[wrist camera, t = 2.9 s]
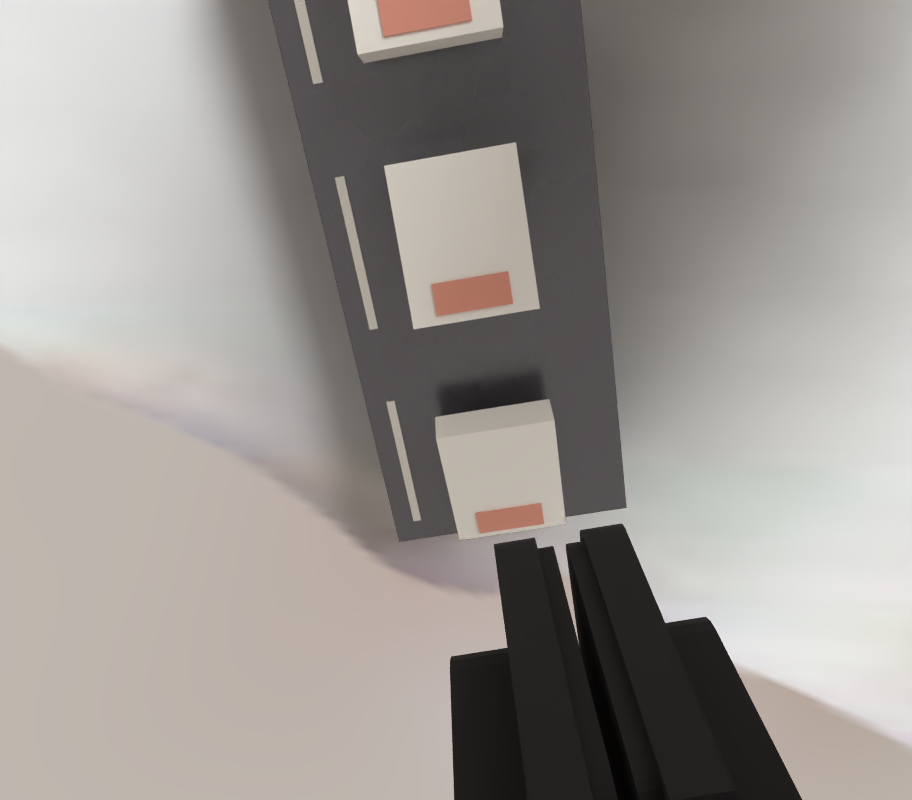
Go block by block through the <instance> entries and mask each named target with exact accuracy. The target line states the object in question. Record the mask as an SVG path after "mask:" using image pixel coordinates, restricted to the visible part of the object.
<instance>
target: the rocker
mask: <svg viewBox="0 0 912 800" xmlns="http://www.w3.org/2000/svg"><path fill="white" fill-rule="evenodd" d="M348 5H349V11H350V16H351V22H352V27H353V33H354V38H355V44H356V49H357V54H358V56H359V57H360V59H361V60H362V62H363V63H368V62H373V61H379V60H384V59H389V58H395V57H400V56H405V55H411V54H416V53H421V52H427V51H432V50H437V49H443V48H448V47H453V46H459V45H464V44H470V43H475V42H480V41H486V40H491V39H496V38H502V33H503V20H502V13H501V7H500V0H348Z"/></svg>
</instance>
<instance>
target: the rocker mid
mask: <svg viewBox="0 0 912 800" xmlns="http://www.w3.org/2000/svg"><path fill="white" fill-rule="evenodd" d="M384 169H385V175H386V180H387V186H388V191H389V197H390V202H391V208H392V213H393V219H394V224H395V230H396V235H397V241H398V246H399V252H400V257H401V263H402V268H403V274H404V279H405V285H406V290H407V296H408V301H409V307H410V312H411V318H412V323H413V329H419V328H425V327H431V326H437V325H443V324H449V323H456V322H462V321H468V320H474V319H480V318H486V317H492V316H498V315H504V314H510V313H516V312H522V311H528V310H534V309H540V305H539V298H538V291H537V284H536V278H535V271H534V264H533V257H532V250H531V243H530V236H529V229H528V222H527V215H526V208H525V202H524V195H523V188H522V181H521V174H520V167H519V160H518V153H517V146H516V142H515V143H509V144H503V145H498V146H492V147H487V148H481V149H475V150H470V151H464V152H459V153H453V154H447V155H442V156H436V157H431V158H425V159H419V160H414V161H408V162H403V163H397V164H391V165H386V166H384Z"/></svg>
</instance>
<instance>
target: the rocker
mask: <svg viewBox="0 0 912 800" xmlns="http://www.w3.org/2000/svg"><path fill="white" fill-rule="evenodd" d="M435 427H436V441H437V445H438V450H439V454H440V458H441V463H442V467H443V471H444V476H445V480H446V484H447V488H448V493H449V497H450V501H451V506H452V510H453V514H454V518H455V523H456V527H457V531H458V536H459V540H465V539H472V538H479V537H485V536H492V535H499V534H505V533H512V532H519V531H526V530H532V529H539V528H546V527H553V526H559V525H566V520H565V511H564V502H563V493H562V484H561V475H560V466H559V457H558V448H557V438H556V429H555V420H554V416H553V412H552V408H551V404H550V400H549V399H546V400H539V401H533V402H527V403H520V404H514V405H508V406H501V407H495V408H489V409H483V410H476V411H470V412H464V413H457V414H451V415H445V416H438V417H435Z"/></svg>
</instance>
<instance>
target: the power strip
mask: <svg viewBox="0 0 912 800" xmlns="http://www.w3.org/2000/svg"><path fill="white" fill-rule="evenodd" d="M269 5H270V9H271V13H272V17H273V21H274V25H275V29H276V34H277V38H278V42H279V46H280V50H281V54H282V58H283V62H284V67H285V71H286V75H287V79H288V83H289V87H290V91H291V96H292V100H293V104H294V108H295V112H296V116H297V120H298V124H299V129H300V133H301V137H302V141H303V145H304V149H305V153H306V158H307V162H308V166H309V170H310V174H311V178H312V182H313V186H314V191H315V195H316V199H317V203H318V207H319V211H320V215H321V220H322V224H323V228H324V232H325V236H326V240H327V244H328V248H329V253H330V257H331V261H332V265H333V269H334V273H335V277H336V282H337V286H338V290H339V294H340V298H341V302H342V306H343V311H344V315H345V319H346V323H347V327H348V331H349V335H350V339H351V344H352V348H353V352H354V356H355V360H356V364H357V368H358V373H359V377H360V381H361V385H362V389H363V393H364V397H365V401H366V406H367V410H368V414H369V418H370V422H371V426H372V430H373V435H374V439H375V443H376V447H377V451H378V455H379V459H380V463H381V468H382V472H383V476H384V480H385V484H386V488H387V492H388V497H389V501H390V505H391V509H392V513H393V517H394V521H395V525H396V530H397V534H398V538H399V542H400V541H407V540H413V539H420V538H427V537H434V536H440V535H447V534H454V533H458V531H457V527H456V523H455V518H454V514H453V510H452V506H451V501H450V497H449V493H448V488H447V484H446V480H445V476H444V471H443V467H442V463H441V458H440V454H439V450H438V445H437V441H436V427H435V417H438V416H445V415H451V414H457V413H464V412H470V411H476V410H483V409H489V408H495V407H501V406H508V405H514V404H520V403H527V402H533V401H539V400H546V399H549V400H550V404H551V408H552V412H553V416H554V420H555V429H556V438H557V448H558V457H559V466H560V475H561V484H562V493H563V502H564V511H565V517H568V516H574V515H581V514H588V513H594V512H601V511H608V510H614V509H621V508H626V497H625V486H624V475H623V464H622V453H621V442H620V431H619V420H618V409H617V398H616V387H615V376H614V365H613V354H612V343H611V332H610V321H609V310H608V299H607V288H606V277H605V266H604V255H603V244H602V233H601V222H600V211H599V200H598V189H597V178H596V167H595V156H594V145H593V134H592V123H591V112H590V101H589V90H588V79H587V68H586V57H585V46H584V35H583V24H582V13H581V2H580V0H500V7H501V13H502V20H503V33H502V38H496V39H491V40H486V41H480V42H475V43H470V44H464V45H459V46H453V47H448V48H443V49H437V50H432V51H427V52H421V53H416V54H411V55H405V56H400V57H395V58H389V59H384V60H379V61H373V62H368V63H363V62H362V60H361V59H360V57H359V56H358V54H357V49H356V44H355V38H354V33H353V27H352V22H351V16H350V11H349V5H348V0H269ZM515 142H516V146H517V153H518V160H519V167H520V174H521V181H522V188H523V195H524V202H525V208H526V215H527V222H528V229H529V236H530V243H531V250H532V257H533V264H534V271H535V278H536V284H537V291H538V298H539V305H540V309H534V310H528V311H522V312H516V313H510V314H504V315H498V316H492V317H486V318H480V319H474V320H468V321H462V322H456V323H449V324H443V325H437V326H431V327H425V328H419V329H413V323H412V318H411V312H410V307H409V301H408V296H407V290H406V285H405V279H404V274H403V268H402V263H401V257H400V252H399V246H398V241H397V235H396V230H395V224H394V219H393V213H392V208H391V202H390V197H389V191H388V186H387V180H386V175H385V169H384V166H386V165H391V164H397V163H403V162H408V161H414V160H419V159H425V158H431V157H436V156H442V155H447V154H453V153H459V152H464V151H470V150H475V149H481V148H487V147H492V146H498V145H503V144H509V143H515Z"/></svg>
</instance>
